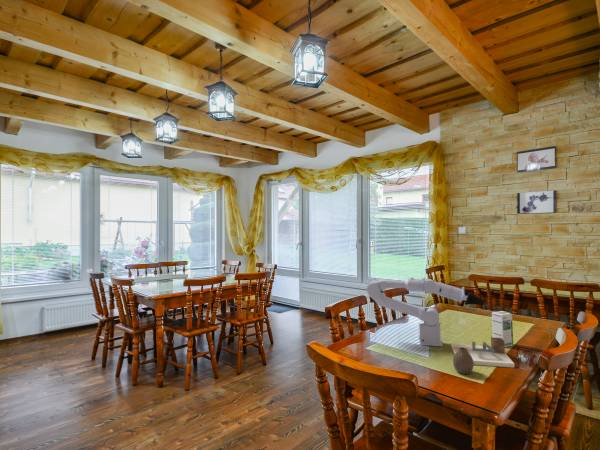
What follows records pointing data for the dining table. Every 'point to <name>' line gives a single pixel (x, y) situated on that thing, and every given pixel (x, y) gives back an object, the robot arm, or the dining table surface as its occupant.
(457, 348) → the board
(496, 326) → the syrup box
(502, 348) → the walnut block
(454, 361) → the vase
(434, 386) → the dining table surface
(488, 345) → the bent wire
